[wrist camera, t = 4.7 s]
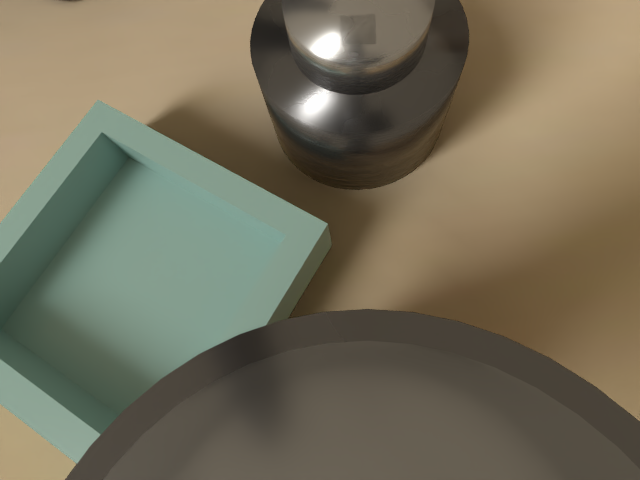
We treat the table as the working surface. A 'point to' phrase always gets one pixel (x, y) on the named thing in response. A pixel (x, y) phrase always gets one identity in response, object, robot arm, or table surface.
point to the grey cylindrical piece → (368, 409)
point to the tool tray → (135, 273)
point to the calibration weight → (358, 82)
